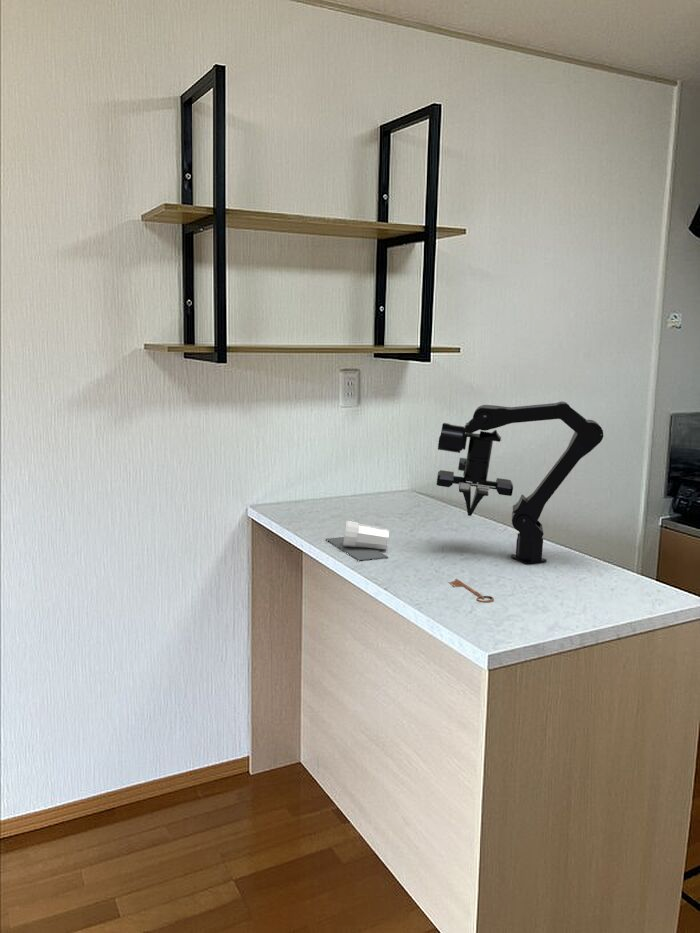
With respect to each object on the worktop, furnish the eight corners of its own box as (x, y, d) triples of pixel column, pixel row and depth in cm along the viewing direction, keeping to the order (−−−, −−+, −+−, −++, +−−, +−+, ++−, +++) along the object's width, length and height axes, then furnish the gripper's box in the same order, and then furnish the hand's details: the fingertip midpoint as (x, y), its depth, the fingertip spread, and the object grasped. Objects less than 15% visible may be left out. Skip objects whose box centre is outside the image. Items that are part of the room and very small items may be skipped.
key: (441, 585, 188) (472, 606, 174) (441, 581, 188) (472, 602, 174) (464, 581, 190) (496, 602, 176) (463, 577, 190) (496, 598, 176)
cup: (388, 529, 215) (346, 523, 215) (390, 524, 209) (347, 518, 209) (385, 554, 213) (342, 548, 213) (387, 550, 207) (343, 543, 207)
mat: (387, 558, 205) (388, 556, 205) (358, 561, 201) (358, 559, 201) (352, 537, 222) (352, 536, 222) (325, 540, 219) (325, 538, 219)
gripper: (514, 453, 212) (504, 511, 216) (441, 443, 214) (433, 501, 218) (517, 463, 201) (507, 524, 205) (441, 453, 203) (432, 513, 207)
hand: (469, 515), depth 209 cm, fingers closed
